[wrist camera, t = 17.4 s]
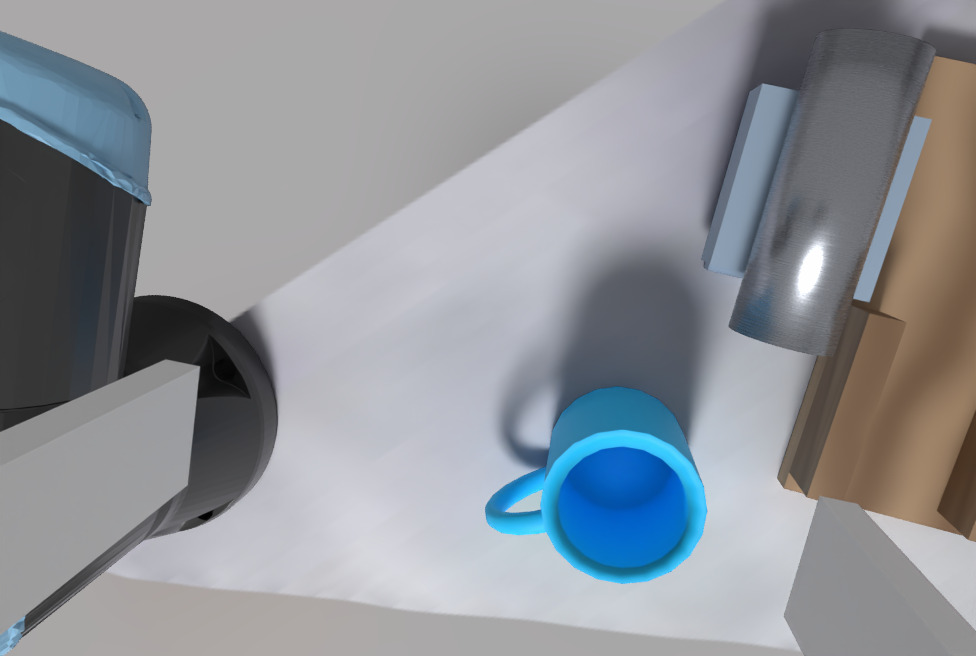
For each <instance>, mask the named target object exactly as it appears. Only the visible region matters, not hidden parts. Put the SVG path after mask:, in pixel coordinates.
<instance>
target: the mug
mask: <svg viewBox="0 0 976 656" xmlns="http://www.w3.org/2000/svg"><path fill="white" fill-rule="evenodd" d="M542 489H543V492H542V498H541V505H540V506H541V510H537V511H530V512H520V513H509V512H505V511H506V510H507V509H509V508H510V507H511V506H512V505H513V504H515V503H516V502H518V501H520V500H522V499H523V498H525V497H527V496H528V495H530V494H533V493H535V492H537V491H540V490H542ZM485 513H486V520H487V522H488V524H489V525H490V526H491V527H492V528H494V529H496V530H497V531H499V532H501V533H506V534H514V535H526V534H539V533H544V532H547V534H548V536H549V538H550V540H551V541H552V543H553V545H554V547H555V549H556V550H557V551H558V552H559V553H560V554H561V555H562V556H563V557H564V558H565V559H566V560H567V561H568V562H569V563H570V564H571V565H572V566H573V567H574V568H576V569H578V570H580V571H582V572H584V573H586V574H588V575H590V576H592V577H594V578H596V579H599V580H605V581H610V582H615V583H620V584H625V583H636V582H646V581H650V580H652V579H654V578H657V577H659V576H662V575H664V574H666V573H669V572H671V571H672V570H673V569H675V568H676V567H677V566H678V565H679V564H681V563H682V562H683V561H684V560H685V559H686V558H688V557H689V556H690V554H691V553H692V551H693V549H694V548H695V546H696V544H697V543H698V541H699V540H700V538H701V536H702V534H703V529H704V524H705V519H706V514H707V506H706V499H705V493H704V486H703V484H702V481H701V478H700V476H699V473H698V470H697V468H696V465H695V462H694V460H693V457H692V454H691V452H690V449H689V447H688V444H687V441H686V439H685V436H684V433H683V431H682V429H681V428H680V426H679V424H678V422H677V420H676V418H675V416H674V414H673V413H672V412H671V411H670V410H669V409H668V408H667V407H666V406H664V405H663V404H662V403H661V402H660V401H659V400H658V399H656V398H654V397H652V396H650V395H648V394H646V393H644V392H642V391H640V390H637V389H630V388H624V387H618V386H617V387H610V388H603V389H596V390H594V391H592V392H590V393H587V394H585V395H583V396H581V397H579V398H577V399H576V400H575V401H574V402H573V403H572V404H571V405H570V406H568V407H567V408H566V409H565V410H564V411H563V412H562V413H561V415H560V417H559V419H558V421H557V423H556V425H555V427H554V429H553V431H552V437H551V443H550V449H549V455H548V461H547V466H546V467H543V468H540V469H538V470H536V471H533V472H531V473H529V474H526V475H524V476H522V477H520V478H518V479H516V480H514V481H512V482H511V483H509V484H507V485H505V486H504V487H503V488H501V489H500V490H499V491H498V492H496V493H495V494H494V495H493V496H492V497H491V499H490V500H489V501H488V503H487V504H486V507H485Z"/></svg>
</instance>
